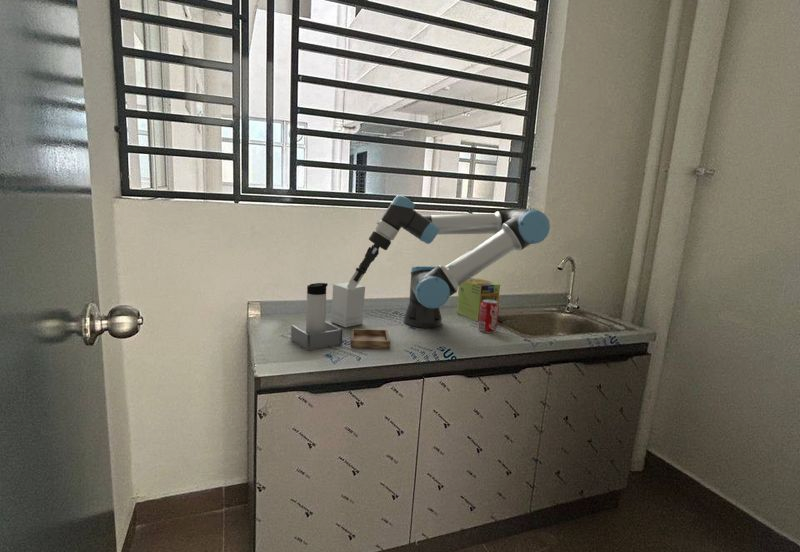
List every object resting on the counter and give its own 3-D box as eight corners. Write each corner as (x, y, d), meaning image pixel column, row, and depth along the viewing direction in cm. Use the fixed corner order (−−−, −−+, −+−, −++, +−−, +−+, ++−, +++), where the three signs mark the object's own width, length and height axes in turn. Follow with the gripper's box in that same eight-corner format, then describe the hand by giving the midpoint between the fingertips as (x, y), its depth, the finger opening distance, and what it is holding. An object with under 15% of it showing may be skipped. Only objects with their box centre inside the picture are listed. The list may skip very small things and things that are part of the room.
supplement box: (363, 324, 171) (366, 286, 168) (345, 328, 164) (348, 288, 161) (348, 318, 177) (350, 281, 174) (330, 321, 170) (332, 283, 167)
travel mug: (321, 345, 144) (323, 285, 140) (302, 343, 145) (304, 283, 142) (328, 339, 150) (330, 282, 147) (310, 337, 151) (311, 280, 148)
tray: (386, 336, 158) (387, 329, 157) (389, 348, 145) (390, 341, 145) (351, 335, 156) (351, 328, 156) (351, 347, 144) (351, 340, 143)
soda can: (498, 330, 173) (501, 300, 171) (494, 335, 167) (497, 304, 165) (480, 327, 176) (483, 297, 174) (475, 331, 170) (478, 301, 168)
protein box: (478, 322, 183) (481, 285, 180) (455, 312, 196) (458, 278, 194) (497, 320, 188) (501, 284, 185) (474, 310, 201) (477, 277, 199)
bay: (342, 344, 147) (342, 329, 146) (307, 350, 139) (307, 335, 138) (324, 334, 156) (324, 320, 155) (291, 339, 148) (291, 325, 147)
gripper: (374, 229, 168) (344, 276, 169) (374, 230, 143) (339, 285, 144) (390, 240, 169) (360, 287, 170) (393, 242, 144) (358, 297, 145)
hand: (350, 286), depth 157 cm, fingers open, 13 cm apart
